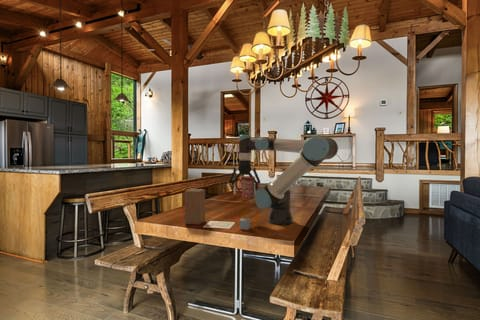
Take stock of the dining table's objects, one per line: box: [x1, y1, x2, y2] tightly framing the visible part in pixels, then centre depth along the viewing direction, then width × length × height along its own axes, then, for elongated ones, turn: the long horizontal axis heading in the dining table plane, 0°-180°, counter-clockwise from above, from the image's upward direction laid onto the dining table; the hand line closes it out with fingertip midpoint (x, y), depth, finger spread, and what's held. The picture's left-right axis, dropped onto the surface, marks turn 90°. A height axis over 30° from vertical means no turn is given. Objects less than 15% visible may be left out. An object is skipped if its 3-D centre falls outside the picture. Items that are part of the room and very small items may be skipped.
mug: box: [235, 175, 256, 200], centre depth 173 cm, size 13×9×14 cm
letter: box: [202, 220, 236, 230], centre depth 164 cm, size 16×14×1 cm
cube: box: [239, 218, 251, 231], centre depth 157 cm, size 5×5×5 cm
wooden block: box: [184, 188, 206, 226], centre depth 169 cm, size 10×10×20 cm
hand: (244, 194), depth 173 cm, fingers closed on mug, 12 cm apart
